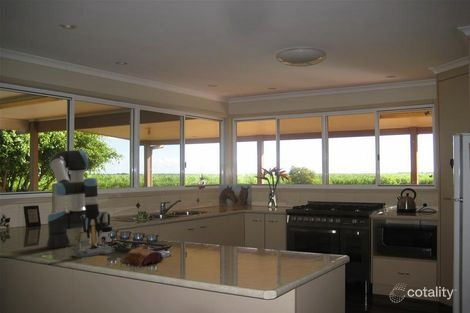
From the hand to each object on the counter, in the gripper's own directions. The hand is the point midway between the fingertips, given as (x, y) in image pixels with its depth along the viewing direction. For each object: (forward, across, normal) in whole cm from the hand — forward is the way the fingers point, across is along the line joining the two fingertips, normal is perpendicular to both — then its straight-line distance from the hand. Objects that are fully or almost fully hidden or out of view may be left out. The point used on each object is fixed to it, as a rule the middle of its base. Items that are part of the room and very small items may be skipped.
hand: (93, 243), depth 269 cm
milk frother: (+6, +32, +116) cm, 121 cm away
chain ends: (+6, 0, 0) cm, 6 cm away
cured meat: (+7, +16, -42) cm, 45 cm away
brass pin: (+5, 0, 0) cm, 5 cm away
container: (+7, +14, +22) cm, 27 cm away
